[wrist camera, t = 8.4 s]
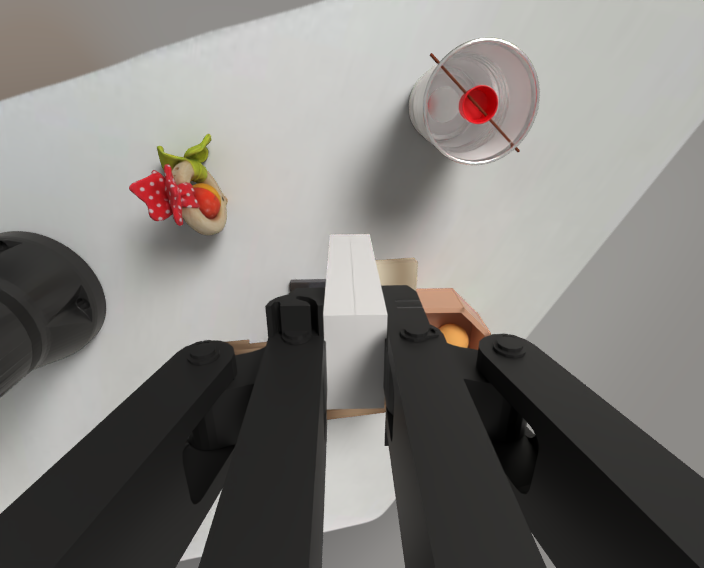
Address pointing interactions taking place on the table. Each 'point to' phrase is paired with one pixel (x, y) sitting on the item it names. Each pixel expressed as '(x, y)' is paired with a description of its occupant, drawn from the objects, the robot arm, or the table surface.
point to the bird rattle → (184, 191)
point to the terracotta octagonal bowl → (453, 313)
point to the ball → (455, 335)
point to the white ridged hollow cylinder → (477, 101)
